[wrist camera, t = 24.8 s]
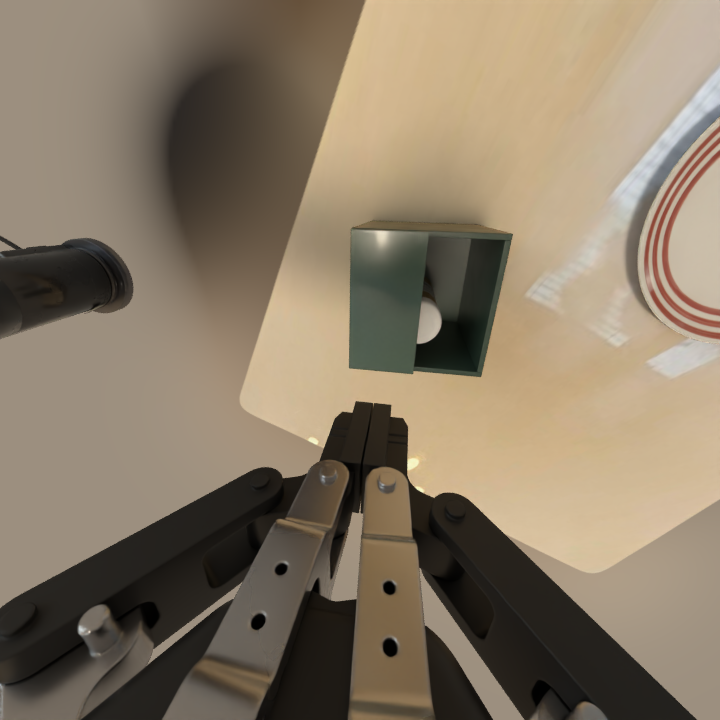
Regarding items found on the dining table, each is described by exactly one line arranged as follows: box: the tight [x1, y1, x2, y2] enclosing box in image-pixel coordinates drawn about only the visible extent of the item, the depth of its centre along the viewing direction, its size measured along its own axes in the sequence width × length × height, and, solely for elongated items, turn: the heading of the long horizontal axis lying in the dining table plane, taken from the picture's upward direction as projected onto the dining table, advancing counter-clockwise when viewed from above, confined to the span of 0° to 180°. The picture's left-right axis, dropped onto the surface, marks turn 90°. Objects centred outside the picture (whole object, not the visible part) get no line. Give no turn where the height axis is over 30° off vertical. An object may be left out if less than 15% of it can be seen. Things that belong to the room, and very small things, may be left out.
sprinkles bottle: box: [417, 277, 442, 344], centre depth 37 cm, size 5×5×13 cm
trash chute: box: [352, 221, 513, 377], centre depth 36 cm, size 13×13×16 cm
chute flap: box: [349, 229, 429, 374], centre depth 29 cm, size 6×13×1 cm, turn 179°
